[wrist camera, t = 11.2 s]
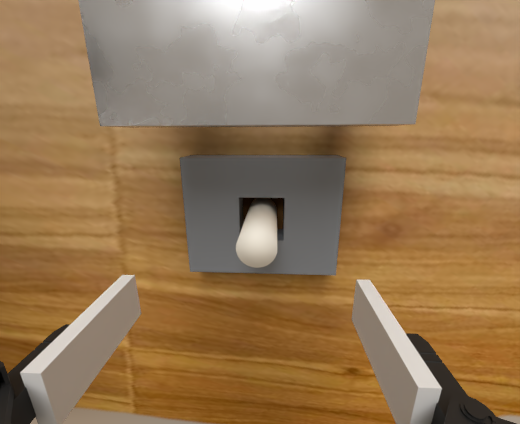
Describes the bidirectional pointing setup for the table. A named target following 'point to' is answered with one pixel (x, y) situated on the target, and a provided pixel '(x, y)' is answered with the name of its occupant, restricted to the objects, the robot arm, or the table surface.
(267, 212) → the peg
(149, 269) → the table surface
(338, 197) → the socket block
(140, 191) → the table surface
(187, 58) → the grey legged flat piece
